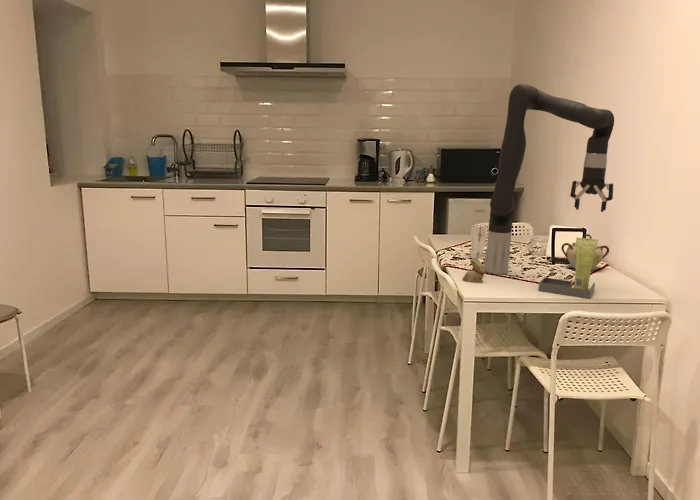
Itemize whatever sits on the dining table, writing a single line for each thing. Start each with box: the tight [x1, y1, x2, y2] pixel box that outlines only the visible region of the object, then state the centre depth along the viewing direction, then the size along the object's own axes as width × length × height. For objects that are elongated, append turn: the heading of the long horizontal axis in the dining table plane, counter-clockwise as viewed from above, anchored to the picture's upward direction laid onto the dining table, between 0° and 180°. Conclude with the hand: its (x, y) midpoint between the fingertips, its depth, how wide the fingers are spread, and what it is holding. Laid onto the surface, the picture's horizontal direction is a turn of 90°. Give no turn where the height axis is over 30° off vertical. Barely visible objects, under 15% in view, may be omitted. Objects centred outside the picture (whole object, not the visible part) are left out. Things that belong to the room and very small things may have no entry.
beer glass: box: [469, 223, 487, 260], centre depth 273 cm, size 7×7×15 cm
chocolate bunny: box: [462, 257, 486, 284], centre depth 233 cm, size 6×8×10 cm
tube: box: [573, 237, 599, 290], centre depth 223 cm, size 6×5×20 cm
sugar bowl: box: [561, 233, 610, 271], centre depth 258 cm, size 20×15×15 cm
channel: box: [538, 276, 596, 300], centre depth 224 cm, size 18×12×3 cm, turn 61°
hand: (589, 210), depth 220 cm, fingers open, 8 cm apart
